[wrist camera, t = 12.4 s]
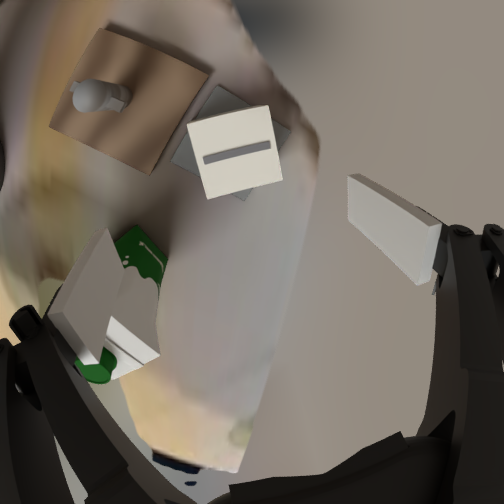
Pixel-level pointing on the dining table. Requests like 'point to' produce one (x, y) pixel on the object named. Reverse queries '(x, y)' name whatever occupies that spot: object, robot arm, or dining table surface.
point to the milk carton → (131, 311)
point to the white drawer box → (235, 150)
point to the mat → (215, 105)
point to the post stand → (126, 99)
